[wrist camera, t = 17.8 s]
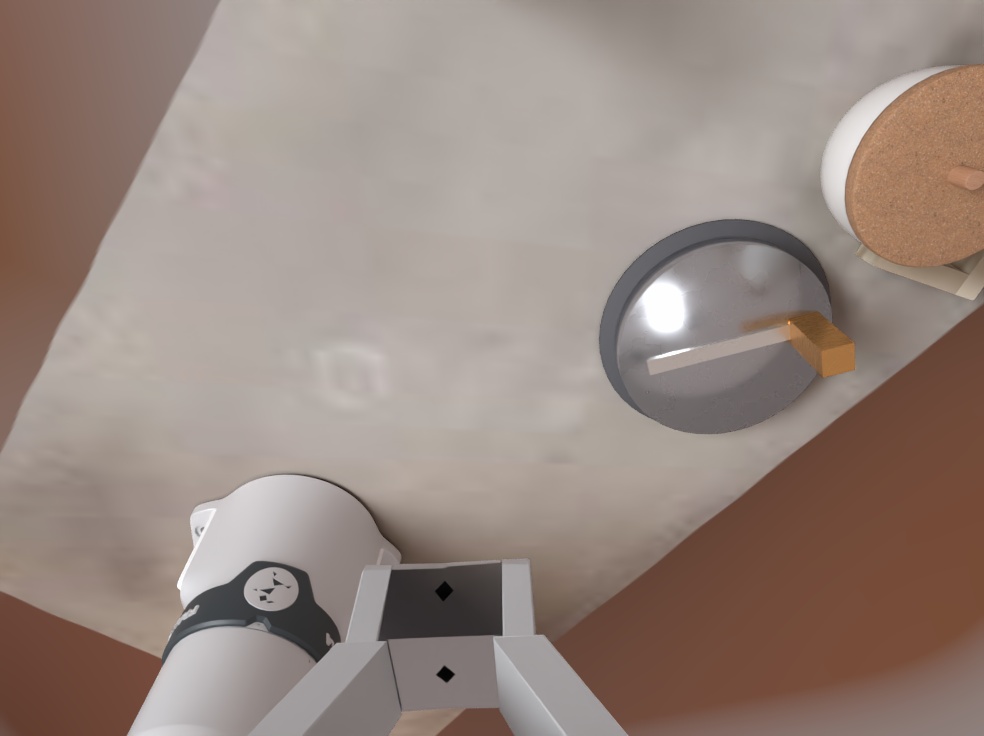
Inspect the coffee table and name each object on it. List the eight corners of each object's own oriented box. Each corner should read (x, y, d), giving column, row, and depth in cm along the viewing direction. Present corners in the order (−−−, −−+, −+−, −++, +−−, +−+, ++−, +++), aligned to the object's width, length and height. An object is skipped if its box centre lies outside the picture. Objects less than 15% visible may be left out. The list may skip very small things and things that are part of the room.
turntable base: (755, 447, 52) (756, 449, 51) (565, 393, 49) (566, 395, 49) (876, 262, 44) (878, 263, 44) (658, 186, 41) (659, 187, 41)
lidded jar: (911, 243, 43) (1010, 293, 35) (767, 216, 42) (834, 260, 34) (998, 77, 38) (1137, 89, 30) (836, 42, 37) (934, 45, 29)
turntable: (634, 438, 50) (654, 495, 44) (595, 271, 44) (612, 310, 37) (823, 393, 48) (872, 445, 42) (814, 209, 41) (870, 240, 35)
